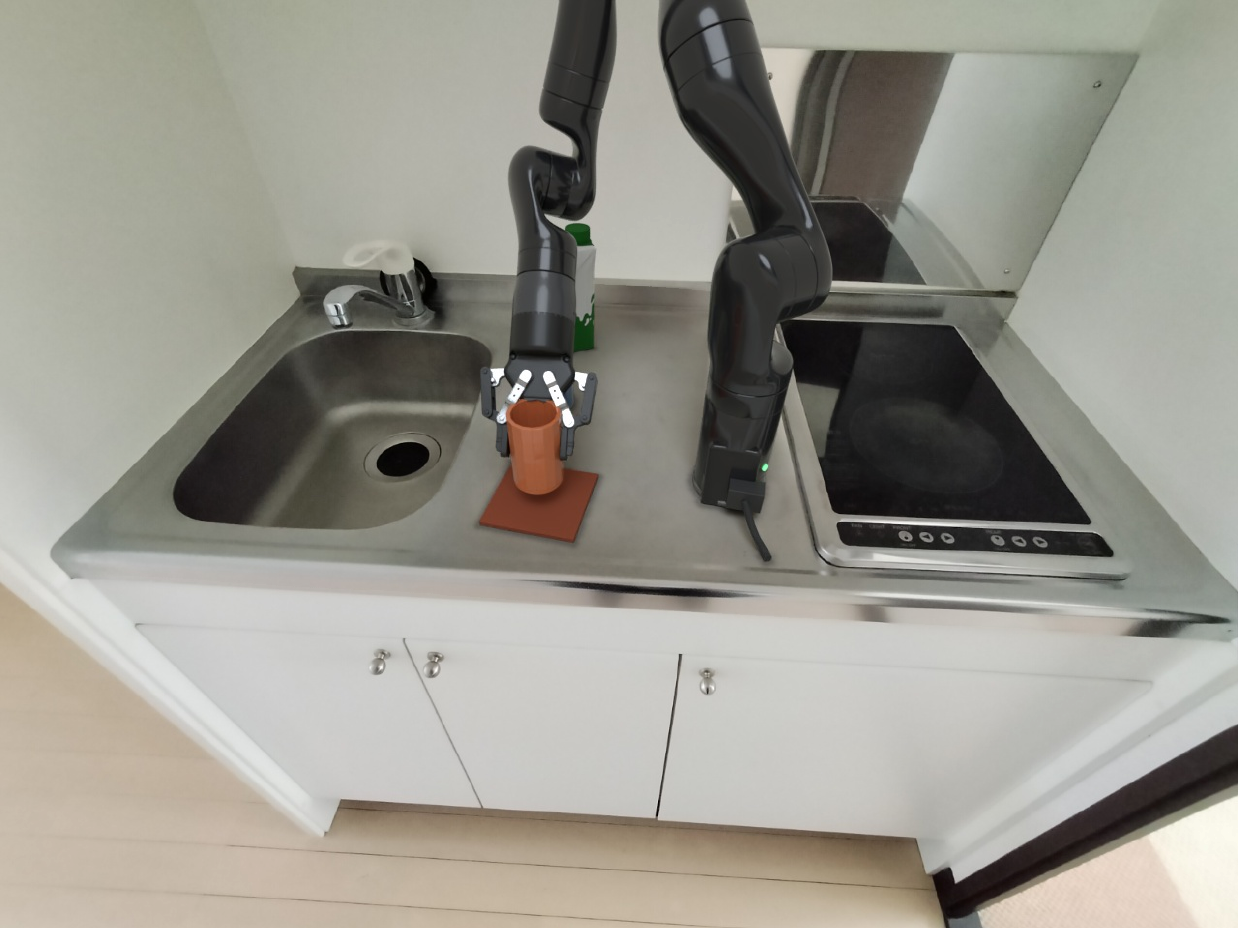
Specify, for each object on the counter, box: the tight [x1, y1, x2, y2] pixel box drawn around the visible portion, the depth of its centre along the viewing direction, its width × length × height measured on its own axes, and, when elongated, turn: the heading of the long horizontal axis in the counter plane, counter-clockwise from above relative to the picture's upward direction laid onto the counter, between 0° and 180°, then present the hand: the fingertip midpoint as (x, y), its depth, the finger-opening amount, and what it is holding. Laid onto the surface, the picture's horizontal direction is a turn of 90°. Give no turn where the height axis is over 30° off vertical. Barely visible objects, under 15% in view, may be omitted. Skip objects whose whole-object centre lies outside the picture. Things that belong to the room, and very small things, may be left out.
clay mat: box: [478, 463, 599, 544], centre depth 77 cm, size 12×12×1 cm
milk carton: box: [564, 222, 597, 353], centre depth 100 cm, size 9×9×20 cm
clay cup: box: [505, 399, 565, 495], centre depth 71 cm, size 6×6×10 cm
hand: (534, 458), depth 70 cm, fingers closed on clay cup, 6 cm apart
